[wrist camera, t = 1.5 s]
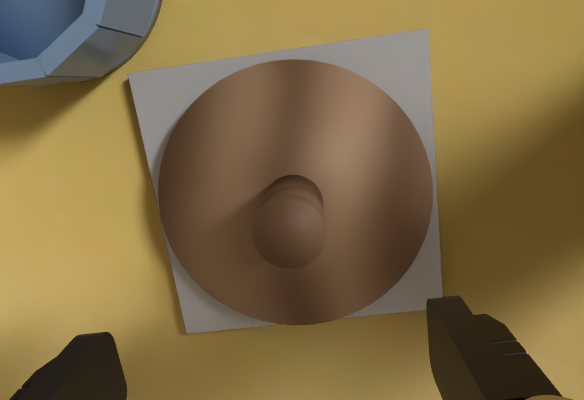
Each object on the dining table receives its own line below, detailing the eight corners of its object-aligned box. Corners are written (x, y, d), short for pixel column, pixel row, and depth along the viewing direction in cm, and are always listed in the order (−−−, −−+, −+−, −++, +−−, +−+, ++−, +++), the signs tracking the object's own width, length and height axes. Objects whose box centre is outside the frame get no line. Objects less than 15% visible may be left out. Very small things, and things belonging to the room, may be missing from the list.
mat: (424, 30, 23) (428, 28, 22) (439, 301, 27) (443, 308, 26) (133, 73, 24) (127, 73, 24) (190, 326, 28) (186, 333, 28)
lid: (418, 40, 22) (457, 25, 16) (434, 301, 26) (470, 366, 20) (138, 82, 24) (79, 83, 18) (193, 326, 28) (160, 394, 22)
